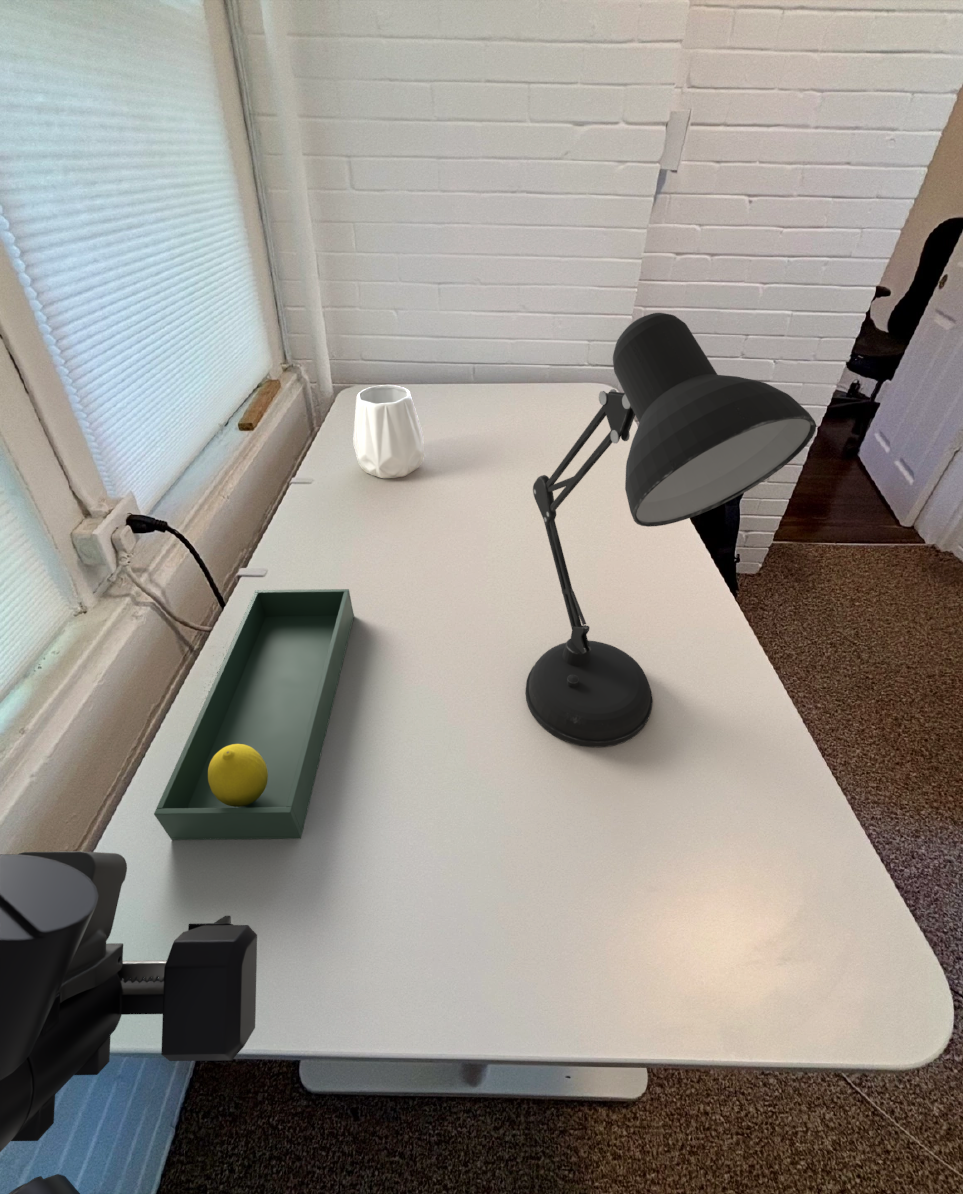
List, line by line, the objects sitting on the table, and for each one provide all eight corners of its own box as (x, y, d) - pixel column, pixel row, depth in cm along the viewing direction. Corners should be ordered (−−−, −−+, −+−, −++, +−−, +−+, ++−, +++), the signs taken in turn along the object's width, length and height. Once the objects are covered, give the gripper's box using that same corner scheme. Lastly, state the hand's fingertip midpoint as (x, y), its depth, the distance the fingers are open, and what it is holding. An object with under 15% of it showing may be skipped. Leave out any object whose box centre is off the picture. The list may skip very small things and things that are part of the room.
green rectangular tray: (300, 838, 60) (290, 812, 57) (171, 840, 60) (153, 814, 57) (354, 615, 86) (348, 588, 83) (263, 616, 86) (255, 589, 83)
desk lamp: (677, 824, 61) (850, 395, 32) (453, 740, 69) (429, 338, 40) (710, 666, 78) (842, 293, 49) (527, 613, 86) (547, 267, 57)
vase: (358, 486, 115) (346, 411, 106) (355, 454, 126) (345, 383, 116) (430, 479, 117) (424, 405, 108) (421, 448, 128) (416, 378, 118)
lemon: (275, 813, 62) (255, 769, 56) (219, 826, 61) (194, 782, 55) (275, 769, 66) (257, 724, 61) (223, 780, 65) (200, 736, 59)
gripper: (190, 893, 26) (298, 803, 42) (-230, 898, 26) (35, 806, 42) (181, 1164, 25) (295, 968, 41) (-255, 1169, 25) (25, 971, 41)
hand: (162, 923), depth 41 cm, fingers open, 9 cm apart
